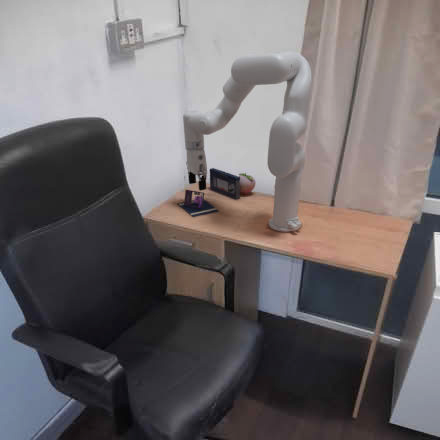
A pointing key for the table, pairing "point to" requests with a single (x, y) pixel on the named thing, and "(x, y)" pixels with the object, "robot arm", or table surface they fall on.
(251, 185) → the decorative fruit
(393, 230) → the table surface
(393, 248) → the table surface
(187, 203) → the monster skateboard toy
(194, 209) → the cloth
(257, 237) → the table surface
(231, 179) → the vhs cassette tape
